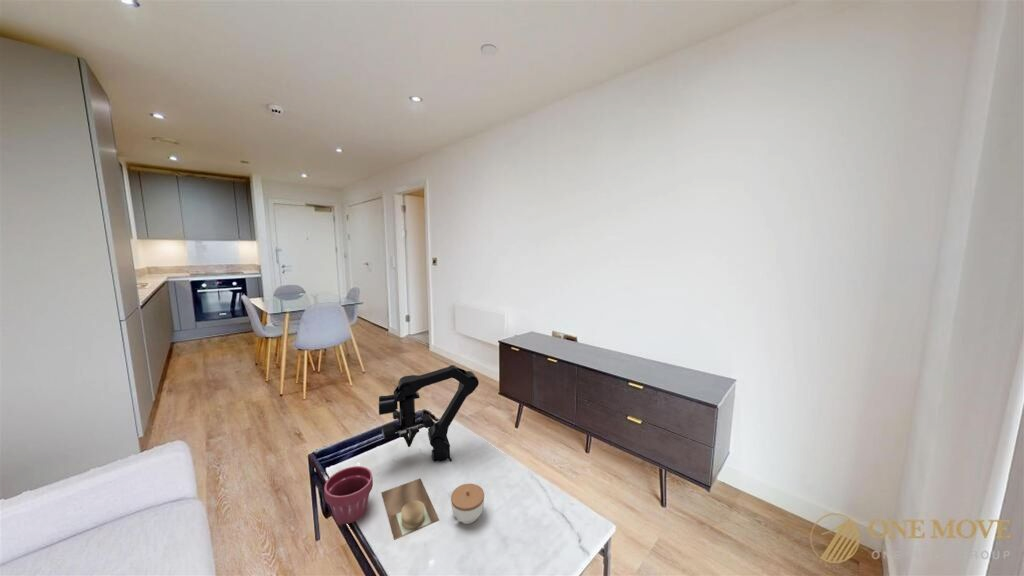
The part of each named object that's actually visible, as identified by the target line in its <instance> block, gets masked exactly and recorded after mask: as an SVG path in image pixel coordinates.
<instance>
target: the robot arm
mask: <svg viewBox="0 0 1024 576" xmlns="http://www.w3.org/2000/svg"><path fill="white" fill-rule="evenodd" d="M449 379H454V380H456V381H457V382H458V386H457V390H456V392H455V394H454V395H453V397H452V399H451V400H450V402H449V404H448V406H447V407H446V409H445V411H443V414H442V416H441V417H440V418H439V420H438V421H436V422H435V421H434V419H433V418H432V417H431V415H430V414H428V413H427V414H424V415H420V416H419V419H418V420H416V415H417V413H416V406H415V405H416V403H415V400H416V399H420V394H419V390H421V389H423V388H424V387H427V386H431V385H433V384H434V385H435V384H437V383H440V382H443V381H447V380H449ZM479 382H480V381H479V378H478V377H477V375H475V373H474V372H473V371H470V370H465V369H464V368H461V367H458V366H456V365H455V364H454V365H453V364H452V365H448V366H446V367H444V368H441V369H437V370H433V371H429V372H427V373H423V374H419V375H416V374H411V375H405V376H402V377H400V378H399V380H398V383H397V386H396V388H395V389H394V390H393V394H390V395H379V396H378V416H382V415H388V414H392V419H393V420H398V424H399V425H397V426H394V424H393V423H390V424H387V425H383V426H382V427H381V433H382V436H383V439H384V440H385V441H388V440H391V439H394V438H395V437H396V433H398V436H399V437H400V438H403V439H404V441H405V443H406V445H407V447H408V448H410V447H412V446H411V445H413V441H414V439H415V438H416V435H417V434H418V433H420V429H419V427H420V426H423V427H424V429H427V430H428V431H427V436H428V440H429V444H430V446H431V447H432V450H431V460H432V461H433V462H435V463H436V462H445V461H447V460H449V462H452V460H453V459H452V458H451V443H450V442H449V441H450V440H449V438H448V432H449V428H450V426H451V424H452V422H453V420H454V418H455V417H456V416H457V414H458V411H459V410H460V409H461V407H462V405H463V404H464V402H465V400H466V399H467V397H468V396H469V395H470V396H471V394H472V393H474V391H475V390H476V389H477V388H478V386H479V385H480V384H479ZM398 403H399V404H398ZM398 407H399V408H398ZM398 409H399V410H398ZM407 430H408V431H407Z"/></svg>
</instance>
